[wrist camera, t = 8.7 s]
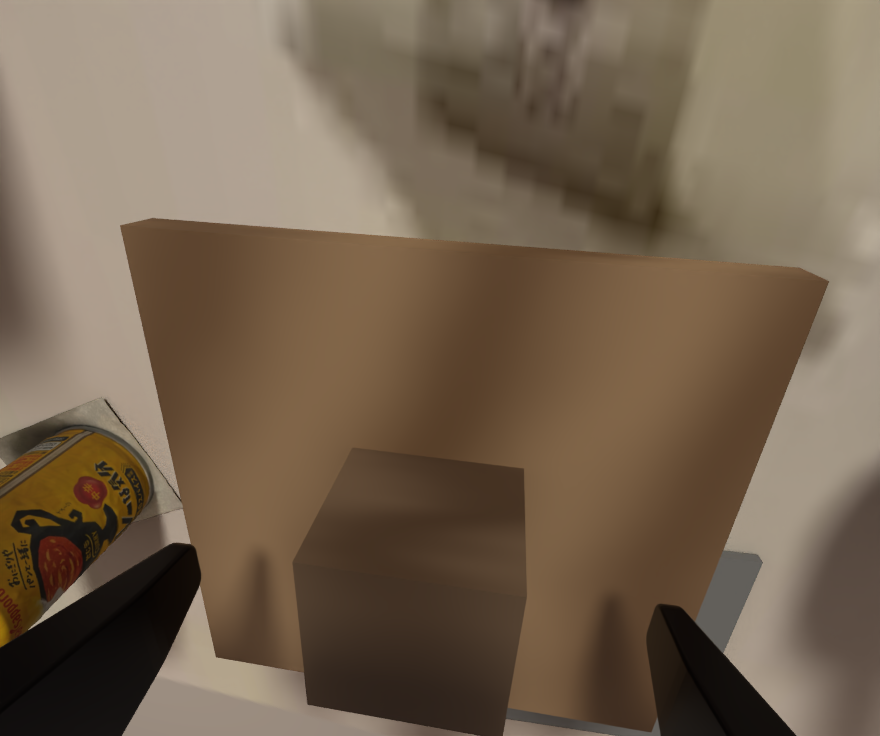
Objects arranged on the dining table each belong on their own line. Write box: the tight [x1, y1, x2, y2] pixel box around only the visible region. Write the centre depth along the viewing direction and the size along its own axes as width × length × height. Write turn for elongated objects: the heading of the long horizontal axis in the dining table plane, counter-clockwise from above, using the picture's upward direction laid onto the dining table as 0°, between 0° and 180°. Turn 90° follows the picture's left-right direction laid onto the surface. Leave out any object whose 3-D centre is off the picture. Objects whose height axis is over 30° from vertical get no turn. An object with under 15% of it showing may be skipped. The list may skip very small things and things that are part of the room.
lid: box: [120, 218, 829, 736], centre depth 11 cm, size 14×14×4 cm
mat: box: [506, 551, 763, 736], centre depth 28 cm, size 20×15×1 cm
